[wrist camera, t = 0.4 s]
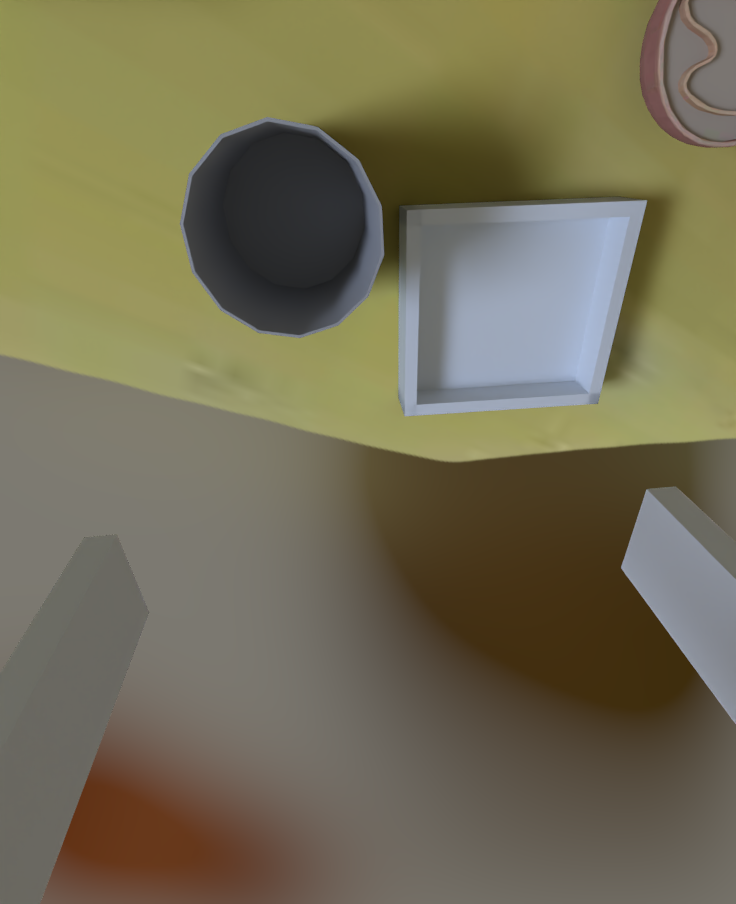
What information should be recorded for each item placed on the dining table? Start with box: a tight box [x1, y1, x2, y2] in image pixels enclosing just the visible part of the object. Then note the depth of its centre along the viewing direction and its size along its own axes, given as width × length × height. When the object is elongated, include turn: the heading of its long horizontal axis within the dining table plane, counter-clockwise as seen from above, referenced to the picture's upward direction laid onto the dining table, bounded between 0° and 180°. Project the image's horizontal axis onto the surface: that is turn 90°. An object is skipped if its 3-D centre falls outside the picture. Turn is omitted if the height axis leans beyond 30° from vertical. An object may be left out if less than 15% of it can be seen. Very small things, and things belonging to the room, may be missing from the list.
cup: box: [180, 117, 384, 338], centre depth 24 cm, size 8×8×10 cm
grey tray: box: [399, 197, 647, 416], centre depth 31 cm, size 13×14×3 cm
